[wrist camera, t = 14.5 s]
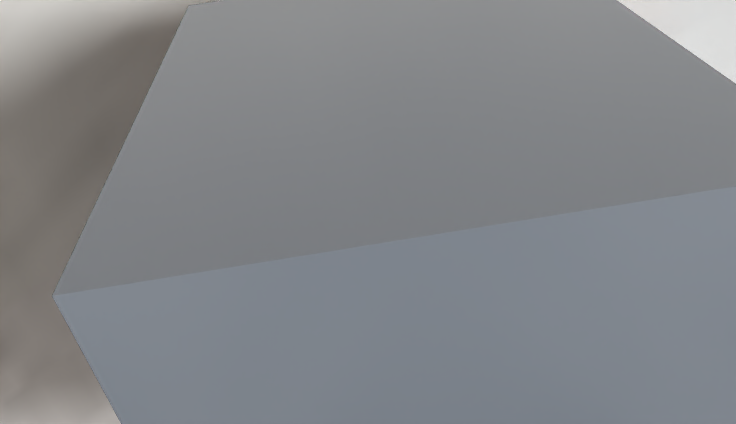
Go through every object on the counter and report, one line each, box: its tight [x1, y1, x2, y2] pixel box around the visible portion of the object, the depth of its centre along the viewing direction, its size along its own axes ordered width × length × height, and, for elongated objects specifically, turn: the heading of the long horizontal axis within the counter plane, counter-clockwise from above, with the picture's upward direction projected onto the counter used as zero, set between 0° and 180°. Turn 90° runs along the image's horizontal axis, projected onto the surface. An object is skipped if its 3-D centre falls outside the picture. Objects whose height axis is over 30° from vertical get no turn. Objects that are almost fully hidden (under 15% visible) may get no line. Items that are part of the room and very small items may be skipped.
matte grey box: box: [52, 0, 736, 424], centre depth 13 cm, size 7×12×9 cm, turn 8°
